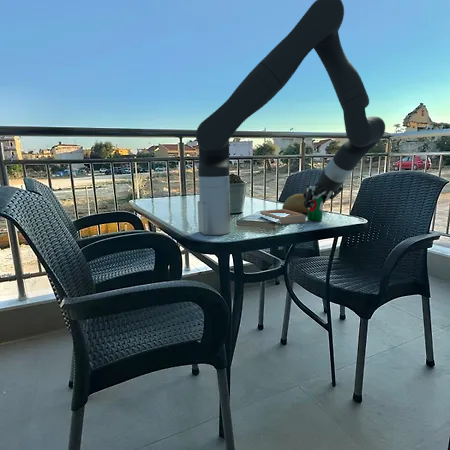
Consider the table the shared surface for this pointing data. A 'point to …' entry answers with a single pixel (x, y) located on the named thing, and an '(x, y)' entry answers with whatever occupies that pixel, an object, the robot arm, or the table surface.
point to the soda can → (315, 209)
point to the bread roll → (295, 204)
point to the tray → (290, 219)
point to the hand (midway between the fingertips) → (312, 205)
